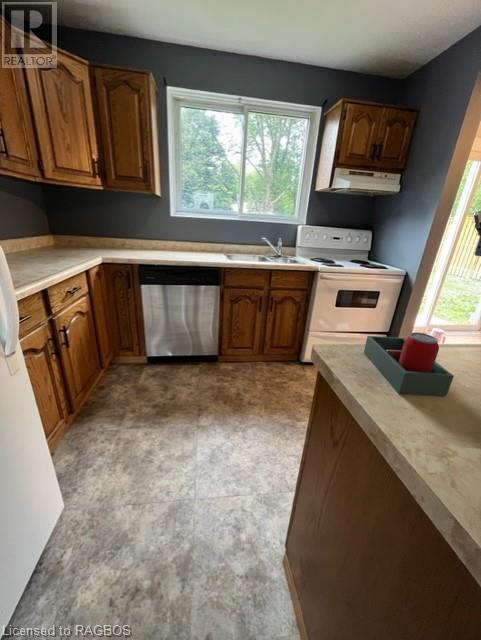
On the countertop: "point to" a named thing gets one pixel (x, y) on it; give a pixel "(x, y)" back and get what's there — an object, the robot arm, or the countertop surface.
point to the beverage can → (419, 353)
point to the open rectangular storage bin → (405, 382)
